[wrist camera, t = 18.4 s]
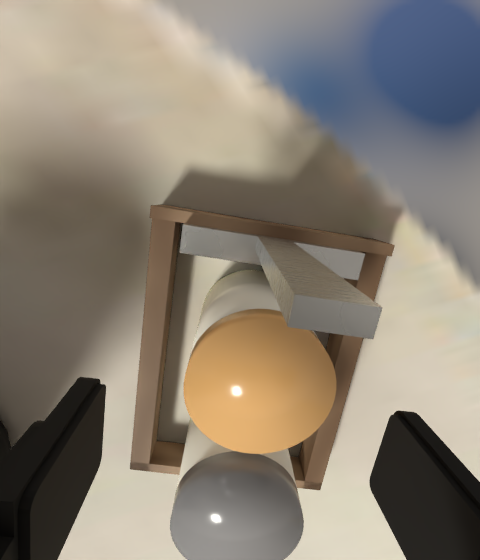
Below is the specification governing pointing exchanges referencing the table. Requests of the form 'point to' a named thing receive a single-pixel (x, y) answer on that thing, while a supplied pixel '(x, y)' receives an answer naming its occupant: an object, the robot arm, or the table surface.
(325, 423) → the brown wooden frame
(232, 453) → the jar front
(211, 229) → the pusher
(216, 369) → the jar
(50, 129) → the table surface
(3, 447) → the coffee jar
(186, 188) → the table surface
